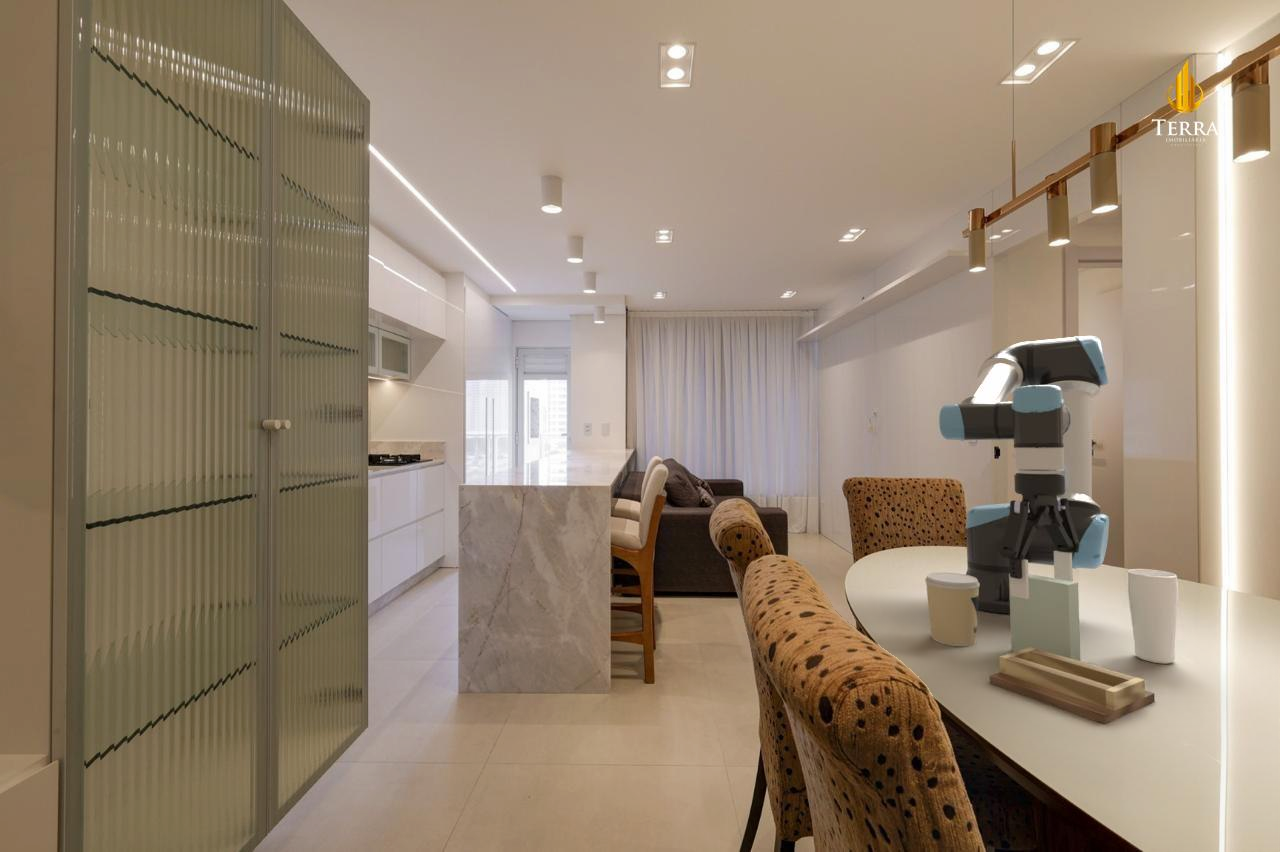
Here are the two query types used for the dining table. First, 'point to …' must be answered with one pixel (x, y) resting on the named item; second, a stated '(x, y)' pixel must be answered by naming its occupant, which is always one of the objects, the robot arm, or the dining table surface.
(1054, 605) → the door panel
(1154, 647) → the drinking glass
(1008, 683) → the track board
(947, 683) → the dining table surface
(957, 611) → the coffee cup
